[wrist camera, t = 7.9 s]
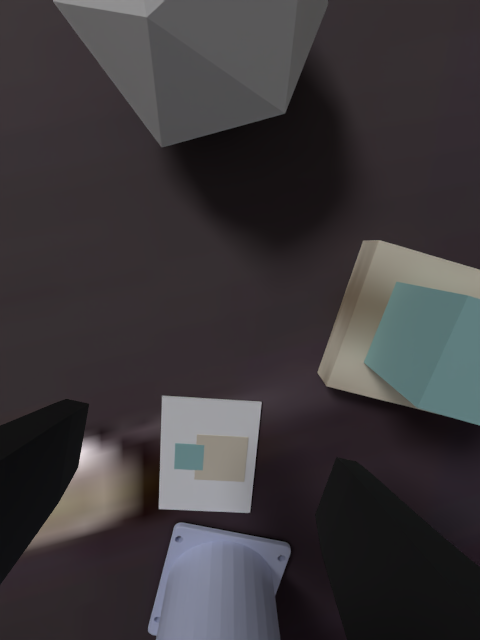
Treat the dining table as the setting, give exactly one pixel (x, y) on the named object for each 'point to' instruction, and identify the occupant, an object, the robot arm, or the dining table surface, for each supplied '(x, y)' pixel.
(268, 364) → the dining table surface
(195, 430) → the blueprint card
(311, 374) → the dining table surface
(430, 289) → the teal cube
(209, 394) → the dining table surface
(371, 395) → the birch slab
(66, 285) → the dining table surface
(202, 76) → the die
